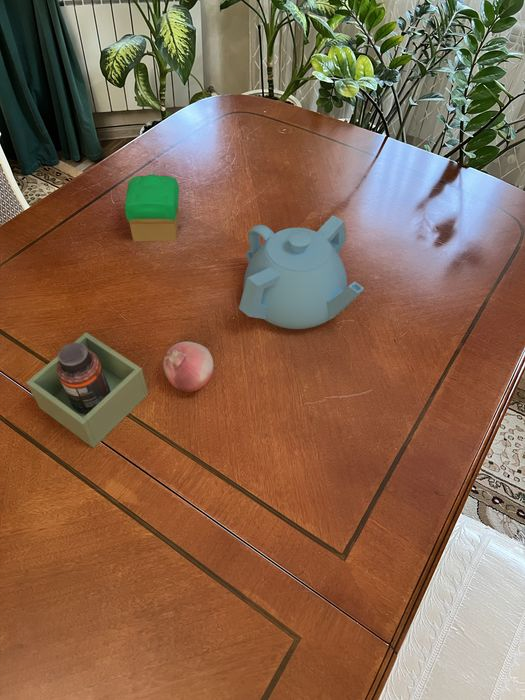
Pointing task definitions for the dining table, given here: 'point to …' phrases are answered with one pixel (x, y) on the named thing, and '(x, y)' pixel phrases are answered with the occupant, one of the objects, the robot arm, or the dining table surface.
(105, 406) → the waste bin
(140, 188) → the cake
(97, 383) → the supplement bottle
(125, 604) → the dining table surface
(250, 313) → the teapot
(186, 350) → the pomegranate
